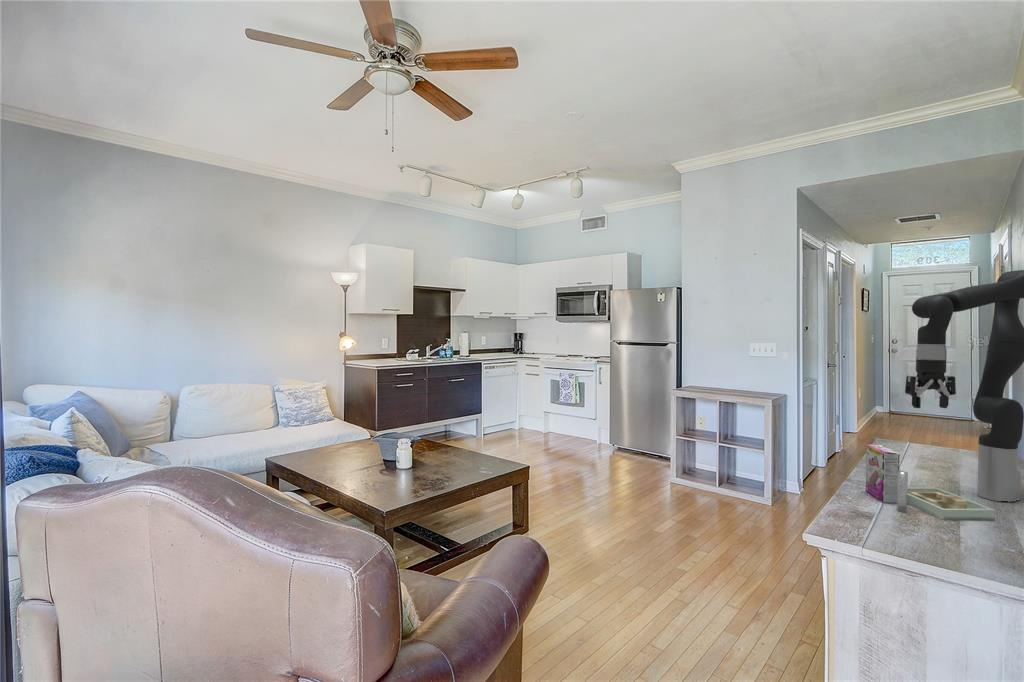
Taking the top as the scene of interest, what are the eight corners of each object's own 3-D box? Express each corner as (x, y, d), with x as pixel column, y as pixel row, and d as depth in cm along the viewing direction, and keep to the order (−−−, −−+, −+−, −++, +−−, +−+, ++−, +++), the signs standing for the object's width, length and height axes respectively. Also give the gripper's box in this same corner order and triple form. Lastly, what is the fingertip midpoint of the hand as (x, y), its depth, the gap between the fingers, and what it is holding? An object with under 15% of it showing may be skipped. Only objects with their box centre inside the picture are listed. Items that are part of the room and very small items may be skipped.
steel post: (902, 509, 152) (903, 470, 151) (908, 512, 149) (909, 473, 149) (894, 509, 152) (895, 470, 151) (900, 512, 149) (901, 473, 149)
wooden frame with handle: (909, 497, 160) (909, 485, 160) (937, 497, 160) (937, 485, 159) (946, 514, 146) (946, 500, 146) (977, 514, 146) (977, 501, 145)
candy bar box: (864, 491, 168) (865, 444, 168) (880, 492, 167) (881, 444, 167) (881, 503, 157) (883, 452, 157) (899, 504, 156) (900, 453, 156)
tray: (936, 496, 163) (937, 487, 163) (995, 520, 143) (995, 510, 143) (891, 496, 163) (891, 487, 163) (942, 519, 143) (943, 509, 143)
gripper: (943, 357, 162) (942, 406, 163) (899, 357, 163) (898, 406, 163) (963, 358, 155) (962, 410, 155) (918, 358, 155) (916, 409, 156)
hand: (929, 407), depth 159 cm, fingers open, 8 cm apart
